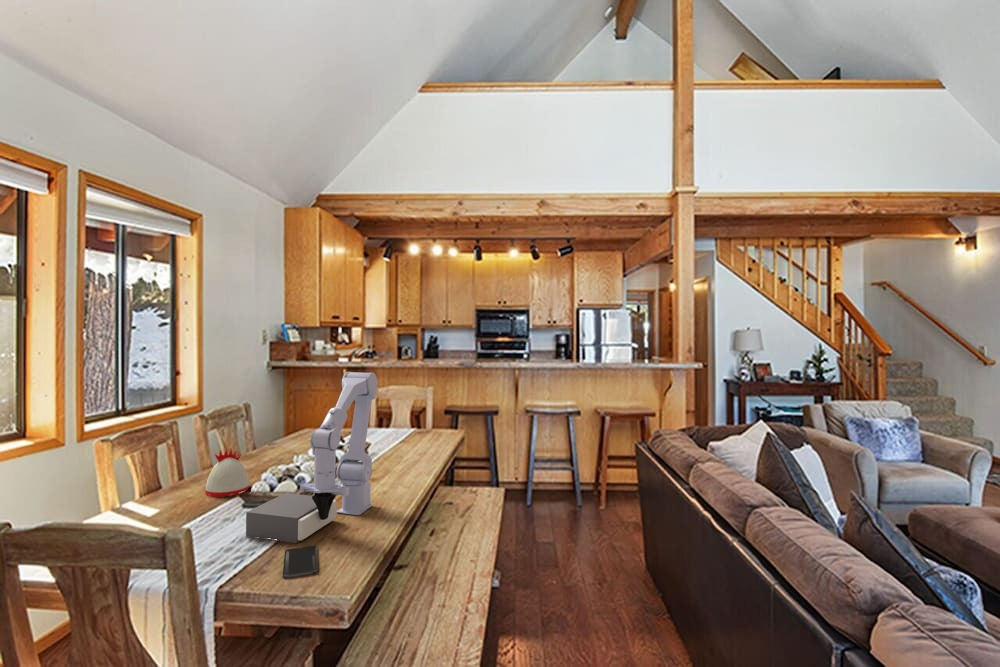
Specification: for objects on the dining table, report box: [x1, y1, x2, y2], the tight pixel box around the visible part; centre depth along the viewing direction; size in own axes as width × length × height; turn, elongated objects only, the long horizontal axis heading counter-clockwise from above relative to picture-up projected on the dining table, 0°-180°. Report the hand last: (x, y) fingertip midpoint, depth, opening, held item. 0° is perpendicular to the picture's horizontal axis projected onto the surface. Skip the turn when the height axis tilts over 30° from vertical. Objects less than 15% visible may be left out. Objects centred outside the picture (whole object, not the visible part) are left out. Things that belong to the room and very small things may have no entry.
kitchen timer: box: [204, 448, 251, 498], centre depth 179 cm, size 14×14×15 cm
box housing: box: [245, 492, 317, 544], centre depth 147 cm, size 16×17×7 cm
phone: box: [282, 545, 319, 580], centre depth 126 cm, size 8×1×15 cm
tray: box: [298, 499, 337, 542], centre depth 146 cm, size 16×17×5 cm
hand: (324, 518), depth 144 cm, fingers closed
